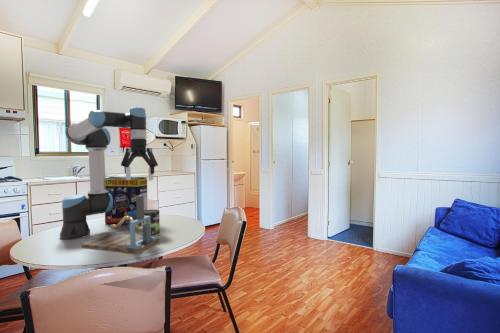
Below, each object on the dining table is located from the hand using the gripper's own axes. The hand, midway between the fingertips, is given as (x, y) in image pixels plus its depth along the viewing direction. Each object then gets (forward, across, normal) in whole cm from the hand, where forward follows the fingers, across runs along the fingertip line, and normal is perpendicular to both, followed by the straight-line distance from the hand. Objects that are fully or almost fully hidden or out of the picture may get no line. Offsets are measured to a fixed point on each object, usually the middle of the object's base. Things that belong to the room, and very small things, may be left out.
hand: (139, 180), depth 145 cm
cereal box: (+35, -40, +39) cm, 66 cm away
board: (+35, -12, 0) cm, 37 cm away
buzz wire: (+33, -7, 0) cm, 34 cm away
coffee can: (+35, -7, +19) cm, 40 cm away
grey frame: (+33, 0, 0) cm, 33 cm away
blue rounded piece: (+35, -25, +28) cm, 51 cm away
